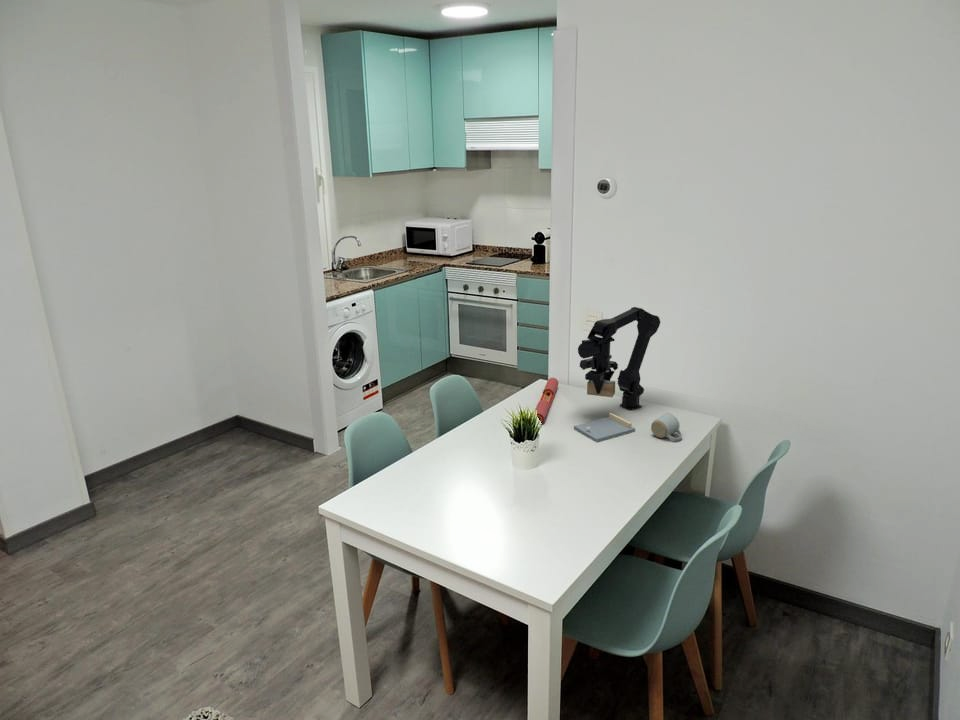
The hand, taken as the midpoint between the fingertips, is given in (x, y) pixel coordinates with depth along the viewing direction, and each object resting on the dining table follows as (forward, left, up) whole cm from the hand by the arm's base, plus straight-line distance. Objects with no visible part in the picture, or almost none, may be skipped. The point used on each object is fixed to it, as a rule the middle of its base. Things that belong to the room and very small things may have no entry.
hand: (601, 391), depth 259 cm
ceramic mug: (-9, +28, -11) cm, 31 cm away
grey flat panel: (+7, +11, -11) cm, 17 cm away
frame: (0, 0, -1) cm, 1 cm away
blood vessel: (+11, -22, -11) cm, 27 cm away
